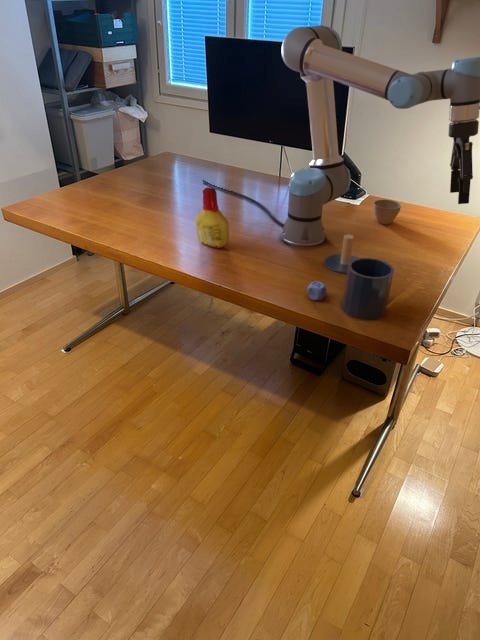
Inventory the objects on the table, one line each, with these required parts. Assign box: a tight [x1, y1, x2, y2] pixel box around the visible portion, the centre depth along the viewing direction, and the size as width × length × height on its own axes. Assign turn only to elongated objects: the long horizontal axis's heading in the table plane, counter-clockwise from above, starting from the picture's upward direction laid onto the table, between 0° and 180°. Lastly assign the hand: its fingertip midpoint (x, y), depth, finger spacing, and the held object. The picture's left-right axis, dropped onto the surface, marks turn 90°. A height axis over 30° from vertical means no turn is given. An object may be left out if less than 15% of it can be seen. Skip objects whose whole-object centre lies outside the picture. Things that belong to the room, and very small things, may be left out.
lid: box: [324, 234, 359, 275], centre depth 150 cm, size 13×13×10 cm
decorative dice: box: [306, 281, 327, 302], centre depth 136 cm, size 4×4×4 cm
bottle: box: [195, 187, 230, 249], centre depth 159 cm, size 12×6×20 cm, turn 60°
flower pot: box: [373, 199, 402, 225], centre depth 181 cm, size 10×10×7 cm
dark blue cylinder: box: [341, 257, 395, 321], centre depth 129 cm, size 12×12×12 cm
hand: (458, 197), depth 142 cm, fingers open, 13 cm apart
